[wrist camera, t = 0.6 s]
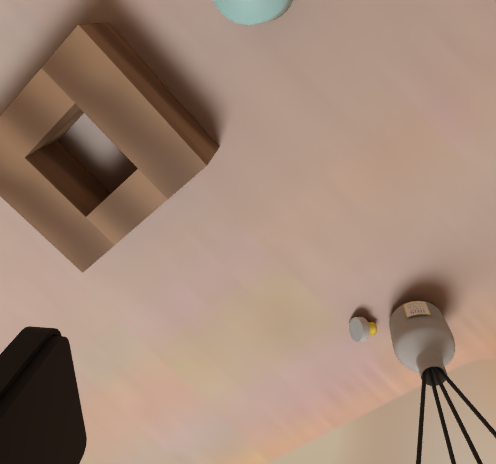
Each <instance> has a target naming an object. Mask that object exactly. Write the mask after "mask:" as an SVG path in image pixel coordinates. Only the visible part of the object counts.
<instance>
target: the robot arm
mask: <svg viewBox="0 0 496 464" xmlns="http://www.w3.org/2000/svg"><path fill="white" fill-rule="evenodd" d="M85 447H86V432H85V426H84V421H83V415H82V410H81V404H80V399H79V393H78V388H77V382H76V377H75V372H74V366H73V361H72V355H71V350H70V344H69V341H68V339H67V338H66V337H62V336H61V333H60V331H59V330H58V329H55V328H42V327H26V328H24V329H23V330H22V331H21V332H20V333H19V334H18V335H17V336H16V337H15V339H14V340H13V341H12V342H11V343H10V344H9V345H8V346H7V348H6V349H5V350H4V351H3V352H2V353H1V354H0V464H79V463H80V461H81V459H82V457H83V454H84V451H85Z"/></svg>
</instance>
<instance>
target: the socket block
mask: <svg viewBox="0 0 496 464" xmlns="http://www.w3.org/2000/svg"><path fill="white" fill-rule="evenodd" d="M83 113H85V114H86V115H87V116H88V117H89V118H90V119H91V120H92V121H93V122H94V123H95V124H96V125H97V126H98V127H99V129H100V130H101V131H102V132H103V133H104V134H105V135H106V136H107V137H108V138H109V139H110V140H111V141H112V142H113V143H114V144H115V145H116V146H117V147H118V148H119V149H120V150H121V151H122V152H123V154H124V155H125V156H126V157H127V158H128V159H129V160H130V161H131V162H132V163H133V164H134V165H135V166H136V167H137V168H138V169H137V170H136V171H135V172H134V173H133V174H132V175H131V176H130V177H129V178H128V179H126V180H125V181H124V182H123V183H122V184H121V185H120V186H119V187H118V188H117V189H116V190H115V191H114V192H112V193H111V194H110V193H109V192H108V191H107V190H106V189H105V188H104V187H103V186H102V185H101V184H100V183H99V182H98V181H97V180H96V179H95V178H94V177H93V176H92V175H91V174H90V173H89V172H88V171H87V170H86V169H85V168H84V167H83V166H82V165H81V164H80V163H79V162H78V161H77V160H76V159H75V158H74V157H73V156H72V155H71V154H70V153H69V152H68V151H67V150H66V149H65V148H64V147H63V146H62V145H61V144H60V143H59V142H58V140H59V139H60V138H61V137H62V136H63V134H64V133H65V132H66V131H67V130H68V129H69V128H70V127H71V126H72V125H73V124H74V123H75V122H76V121H77V120H78V119H79V118H80V116H81V115H82V114H83ZM218 148H219V146H218V145H217V144H216V143H215V142H214V140H213V139H212V138H211V137H210V136H209V135H208V134H207V133H206V131H205V130H204V129H203V128H202V127H201V126H200V125H199V124H198V122H197V121H196V120H195V119H194V118H193V117H192V116H191V115H190V114H189V112H188V111H187V110H186V109H185V108H184V107H183V106H182V105H181V103H180V102H179V101H178V100H177V99H176V98H175V97H174V96H173V94H172V93H171V92H170V91H169V90H168V89H167V88H166V87H165V85H164V84H163V83H162V82H161V81H160V80H159V79H158V78H157V76H156V75H155V74H154V73H153V72H152V71H151V70H150V69H149V68H148V66H147V65H146V64H145V63H144V62H143V61H142V60H141V59H140V57H139V56H138V55H137V54H136V53H135V52H134V51H133V50H132V48H131V47H130V46H129V45H128V44H127V43H126V42H125V41H124V39H123V38H122V37H121V36H120V35H119V34H118V33H117V32H116V30H115V29H114V28H113V27H112V26H111V25H110V24H109V23H95V24H79V25H77V27H76V28H75V29H74V30H73V31H72V32H71V34H70V35H69V36H68V37H67V38H66V40H65V41H64V42H63V43H62V44H61V45H60V47H59V48H58V49H57V50H56V51H55V52H54V54H53V55H52V56H51V57H50V58H49V60H48V61H47V62H46V63H45V64H44V65H43V67H42V68H41V69H40V70H39V71H38V72H37V74H36V75H35V76H34V77H33V78H32V79H31V81H30V82H29V83H28V84H27V85H26V87H25V88H24V89H23V90H22V91H21V92H20V94H19V95H18V96H17V97H16V98H15V99H14V101H13V102H12V103H11V104H10V105H9V107H8V108H7V109H6V110H5V111H4V112H3V114H2V115H1V116H0V196H1V197H2V198H3V199H4V200H5V201H6V202H7V203H8V204H9V205H10V206H12V207H13V208H14V209H15V210H16V211H17V212H18V213H19V214H20V215H21V216H22V217H23V218H24V219H26V220H27V221H28V222H29V223H30V224H31V225H32V226H33V227H34V228H35V229H36V230H37V231H38V232H40V233H41V234H42V235H43V236H44V237H45V238H46V239H47V240H48V241H49V242H50V243H51V244H52V245H53V246H55V247H56V248H57V249H58V250H59V251H60V252H61V253H62V254H63V255H64V256H65V257H66V258H67V259H69V260H70V261H71V262H72V263H73V264H74V265H75V266H76V267H77V268H78V269H79V270H80V271H81V272H84V271H85V270H86V269H88V268H89V267H90V266H91V265H92V264H93V263H94V262H96V261H97V260H98V259H99V258H100V257H101V256H103V255H104V254H105V253H106V252H107V251H108V250H110V249H111V248H112V247H113V246H114V245H115V244H117V243H118V242H119V241H120V240H121V239H122V238H123V237H125V236H126V235H127V234H128V233H129V232H130V231H132V230H133V229H134V228H135V227H136V226H137V225H139V224H140V223H141V222H142V221H143V220H144V219H146V218H147V217H148V216H149V215H150V214H151V213H152V212H154V211H155V210H156V209H157V208H158V207H159V206H161V205H162V204H163V203H164V202H165V201H166V200H168V199H169V198H170V197H171V196H172V195H173V194H175V193H176V192H177V191H178V190H179V189H180V188H181V187H183V186H184V185H185V184H186V183H187V182H188V181H190V180H191V179H192V178H193V177H194V176H195V175H197V174H198V173H199V172H200V171H201V170H202V169H204V168H205V167H206V166H207V165H208V163H209V162H210V160H211V159H212V157H213V156H214V154H215V153H216V151H217V150H218Z"/></svg>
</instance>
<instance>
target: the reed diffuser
mask: <svg viewBox="0 0 496 464" xmlns="http://www.w3.org/2000/svg"><path fill="white" fill-rule="evenodd" d="M389 323H390V332H391V338H392V343H393V348H394V351H395V354H396V356H397V358H398V360H399V361H400V362H401V363H402V364H403V365H404V366H405V367H406V368H408V369H410V370H412V371H415V372H419V373H420V376H421V379H422V390H421V404H420V405H421V406H420V418H419V433H418V445H417V460H416V464H421V451H422V436H423V420H424V404H425V389H426V384H427V385H430V386H432V389H433V393H434V397H435V400H436V404H437V408H438V412H439V416H440V420H441V424H442V428H443V432H444V436H445V440H446V443H447V447H448V451H449V455H450V459H451V463H452V464H456V462H455V458H454V454H453V451H452V447H451V443H450V439H449V435H448V431H447V428H446V424H445V420H444V416H443V412H442V408H441V405H440V401H439V397H438V393H437V390H436V385H439V386H440V387H441V390H442V392H443V394H444V396H445V398H446V400H447V402H448V404H449V406H450V408H451V410H452V412H453V414H454V416H455V418H456V420H457V422H458V424H459V426H460V428H461V431H462V433H463V434H464V436H465V438H466V441H467V443H468V445H469V447H470V449H471V451H472V453H473V455H474V457H475V459H476V461H477V463H478V464H483V463H482V461H481V459H480V458H479V455H478V453H477V451H476V449H475V447H474V445H473V443H472V441H471V439H470V437H469V435H468V433H467V431H466V430H465V427H464V425H463V423H462V421H461V419H460V417H459V415H458V413H457V411H456V409H455V407H454V405H453V403H452V401H451V400H450V397H449V396H448V393H447V391H446V389H445V387H444V385H443V382H444V381H445V380H447V382H448V383H449V384H450V385H451V386H452V388H453V389H454V390H455V391H456V392H457V393H458V395H459V396H460V397H461V398H462V399H463V400H464V402H465V403H466V404H467V405H468V406H469V407H470V409H471V410H472V411H473V412H474V413H475V414H476V416H477V417H478V418H479V419H480V420H481V421H482V423H483V424H484V425H485V426H486V427H487V428H488V430H489V431H490V432H491V433H492V434H493V435H494V437H495V438H496V431H495V430H494V429H493V428H492V427H491V426H490V425H489V423H488V422H487V421H486V420H485V419H484V418H483V416H482V415H481V414H480V413H479V412H478V411H477V409H476V408H475V407H474V406H473V405H472V404H471V403H470V401H469V400H468V399H467V398H466V397H465V396H464V395H463V393H462V392H461V391H460V390H459V389H458V388H457V387H456V385H455V384H454V383H453V382H452V381H451V380H450V379H449V377H448V376H447V373H446V370H445V366H446V365H447V364H448V363H449V362H450V361H451V360H452V358H453V356H454V352H455V342H454V338H453V335H452V333H451V331H450V329H449V327H448V325H447V323H446V321H445V319H444V317H443V315H442V313H441V311H440V310H439V309H438V308H437V307H436V306H434V305H433V304H431V303H428V302H426V301H412V302H408V303H405V304H403V305H401V306H400V307H398V308H397V309H396V310H395V311H394V312H393V314H392V316H391V318H390V322H389ZM349 330H350V335H351V337H352V339H353V340H354V341H356V342H362V341H366V340H367V339H368V337H369V335H374V334H376V332H377V327H376V324H375V323H373V322H367V320H366V319H365V318H364V317H354V318H352V319H351V321H350V325H349Z"/></svg>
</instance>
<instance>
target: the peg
mask: <svg viewBox="0 0 496 464" xmlns="http://www.w3.org/2000/svg"><path fill="white" fill-rule="evenodd" d="M292 1H293V0H213V2H214V4H215V6H216V7H217V8H218V10H219V11H220V12H221V13H222V14H223V15H224V16H225V17H226V18H228V19H229V20H231V21H233V22H235V23H239V24H244V25H253V24H258V23H262V22H266V21H270V20H274V19H276V18H278V17H280V16H281V15H283V14H284V13H285V12H286V11H287V10H288V8H289V7H290V5H291V3H292Z"/></svg>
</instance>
